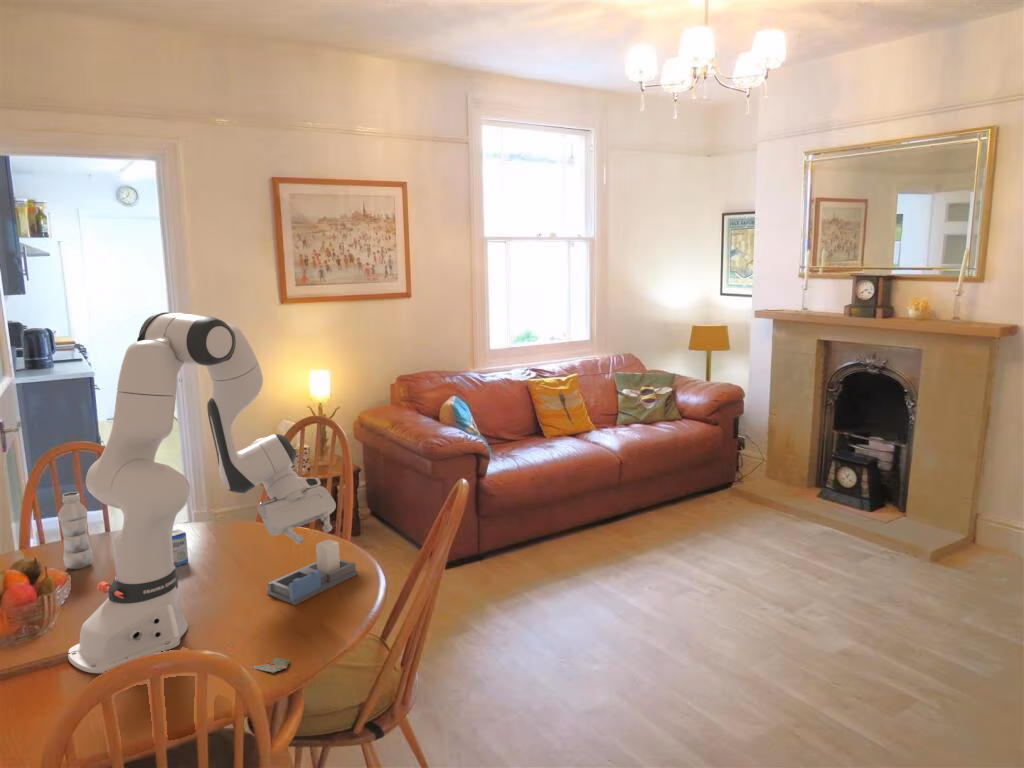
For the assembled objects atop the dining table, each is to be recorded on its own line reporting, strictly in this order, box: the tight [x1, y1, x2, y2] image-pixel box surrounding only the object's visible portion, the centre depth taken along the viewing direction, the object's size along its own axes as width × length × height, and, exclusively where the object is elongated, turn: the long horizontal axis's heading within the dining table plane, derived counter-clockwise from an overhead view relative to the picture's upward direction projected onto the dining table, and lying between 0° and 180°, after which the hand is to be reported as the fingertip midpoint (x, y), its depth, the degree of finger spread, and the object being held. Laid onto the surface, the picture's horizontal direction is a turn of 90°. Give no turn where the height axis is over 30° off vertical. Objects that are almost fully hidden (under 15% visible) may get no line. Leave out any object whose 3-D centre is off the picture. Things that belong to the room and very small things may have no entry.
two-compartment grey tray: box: [266, 558, 358, 606], centre depth 177 cm, size 20×11×6 cm, turn 146°
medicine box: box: [172, 529, 189, 568], centre depth 187 cm, size 8×4×9 cm, turn 143°
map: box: [231, 643, 291, 673], centre depth 145 cm, size 5×20×1 cm, turn 65°
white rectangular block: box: [315, 538, 341, 574], centre depth 181 cm, size 4×4×8 cm
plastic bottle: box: [57, 491, 94, 570], centre depth 185 cm, size 6×7×20 cm
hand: (315, 536), depth 182 cm, fingers open, 8 cm apart
